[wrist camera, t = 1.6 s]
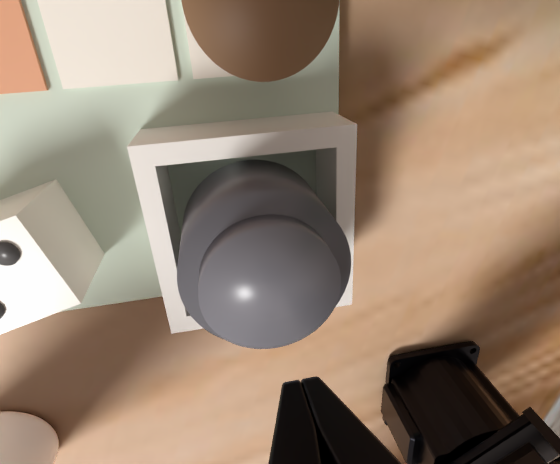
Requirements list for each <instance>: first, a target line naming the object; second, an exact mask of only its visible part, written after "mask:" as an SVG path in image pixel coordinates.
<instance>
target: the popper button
mask: <svg viewBox="0 0 560 464" xmlns="http://www.w3.org/2000/svg"><path fill="white" fill-rule="evenodd" d="M350 272H351V253H350V248H349V244H348V241H347V238H346V236H345V234H344V232H343V230H342V228H341V227H340V225H339V224H338V223H337V221H336V220H335V219H334V217H333V216H332V215H331V214H330V212H329V211H328V210H327V208H326V207H325V206H324V204H323V203H322V202H321V200H320V199H319V198H318V196H317V195H316V194H315V192H314V191H313V190H312V188H311V187H310V186H309V185H308V183H307V182H306V181H305V180H304V179H303V178H302V177H301V176H300V175H299V174H297V173H296V172H295V171H293V170H292V169H290V168H288V167H286V166H284V165H281V164H278V163H276V162H271V161H267V160H244V161H238V162H235V163H231V164H228V165H226V166H224V167H222V168H219V169H218V170H216V171H214V172H213V173H211V174H210V175H209V176H208V177H206V178H205V179H204V180H203V181H202V182H201V183H200V184H199V185H198V186H197V187H196V189H195V190H194V192H193V193H192V195H191V197H190V199H189V201H188V203H187V206H186V208H185V212H184V217H183V224H182V233H181V241H180V249H179V257H178V266H177V285H178V291H179V294H180V297H181V300H182V302H183V304H184V306H185V308H186V310H187V311H188V313H189V314H190V316H191V317H192V318H193V319H194V320H195V321H196V322H197V323H198V324H199V325H200V326H201V327H203V328H204V329H205V330H207V331H208V332H210V333H212V334H213V335H215V336H218V337H220V338H222V339H225V340H227V341H229V342H231V343H233V344H236V345H239V346H242V347H247V348H254V349H270V348H277V347H282V346H286V345H289V344H292V343H294V342H297V341H299V340H301V339H303V338H305V337H306V336H308V335H310V334H311V333H312V332H314V331H315V330H316V329H318V328H319V327H320V326H321V325H322V324H323V323H324V322H325V321H326V320H327V318H328V317H329V316H330V314H331V313H332V311H333V309H334V308H335V307H336V305H337V304H338V302H339V301H340V299H341V297H342V296H343V294H344V292H345V289H346V287H347V284H348V281H349V277H350Z"/></svg>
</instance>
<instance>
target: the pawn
mask: <svg viewBox="0 0 560 464" xmlns="http://www.w3.org/2000/svg"><path fill="white" fill-rule="evenodd" d="M181 2H182V7H183V11H184V15H185V18H186V21H187V24H188V26H189V28H190V31H191V33H192V35H193V37H194V38H195V40H196V42H197V43H198V45H199V46H200V48H201V49H202V50H203V51H204V53H205V54H206V55H207V56H208V57H209V58H210V59H211V60H212V61H213V62H214V63H215V64H216V65H218V66H219V67H220V68H222V69H223V70H225V71H226V72H228V73H230V74H232V75H234V76H236V77H239V78H242V79H245V80H249V81H256V82H271V81H277V80H281V79H284V78H287V77H290V76H292V75H294V74H296V73H298V72H299V71H301V70H302V69H304V68H305V67H306V66H308V65H309V64H310V63H311V62H312V61H313V60H314V59H315V58H316V57H317V56H318V55H319V53H320V52H321V51H322V49H323V48H324V46H325V45H326V43H327V41H328V39H329V37H330V35H331V33H332V30H333V28H334V25H335V22H336V18H337V14H338V8H339V0H181Z"/></svg>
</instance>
